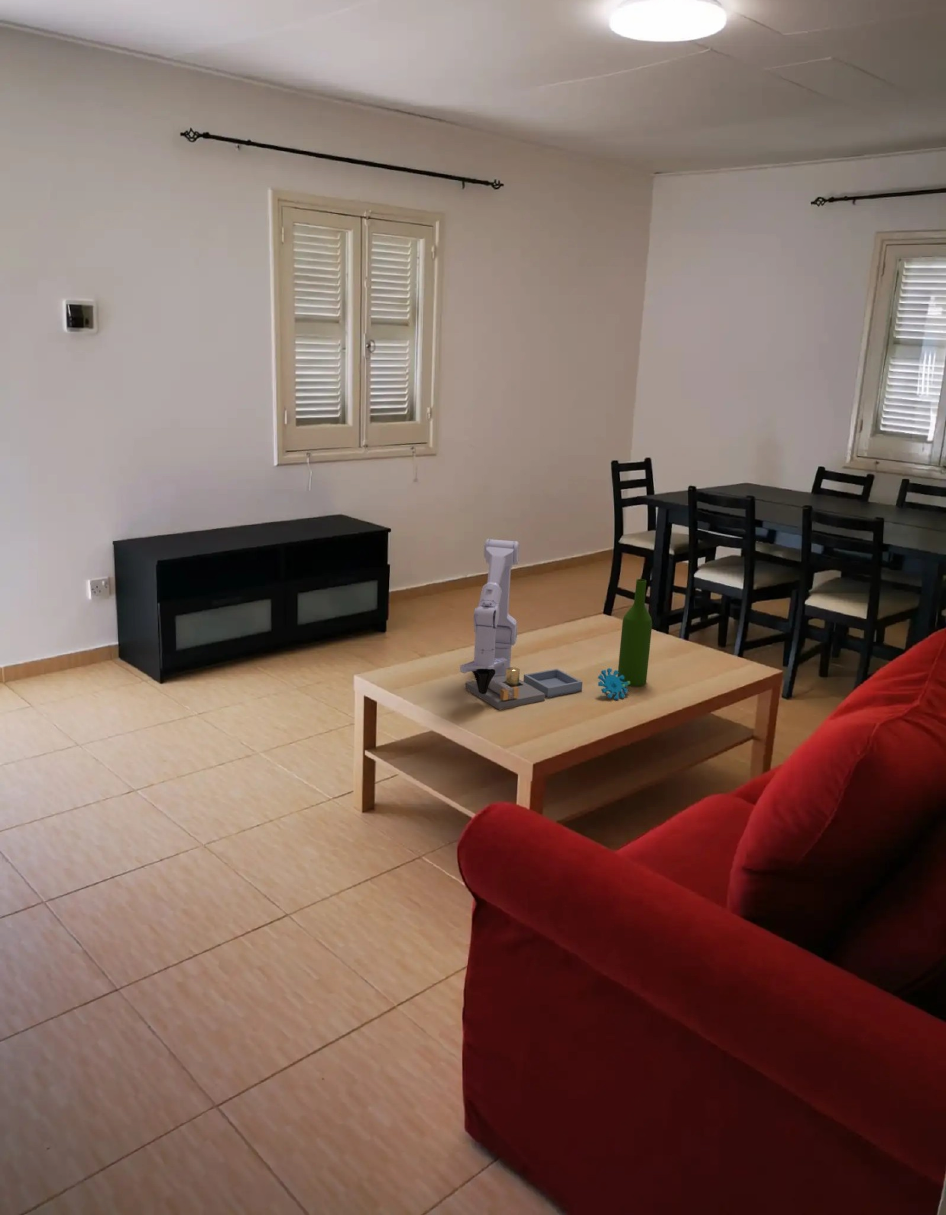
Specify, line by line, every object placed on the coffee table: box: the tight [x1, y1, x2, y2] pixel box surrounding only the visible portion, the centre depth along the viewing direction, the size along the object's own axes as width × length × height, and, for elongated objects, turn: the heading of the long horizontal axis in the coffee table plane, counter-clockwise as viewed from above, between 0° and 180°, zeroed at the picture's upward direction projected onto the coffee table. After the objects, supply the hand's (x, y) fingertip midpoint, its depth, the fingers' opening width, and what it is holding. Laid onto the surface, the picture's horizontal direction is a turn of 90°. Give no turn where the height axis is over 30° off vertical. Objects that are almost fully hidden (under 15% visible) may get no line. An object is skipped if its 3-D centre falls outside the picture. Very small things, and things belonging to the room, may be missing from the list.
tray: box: [522, 668, 583, 699], centre depth 284 cm, size 13×13×3 cm
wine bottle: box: [616, 578, 653, 688], centre depth 288 cm, size 9×9×32 cm
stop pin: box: [506, 666, 521, 687], centre depth 280 cm, size 4×4×6 cm
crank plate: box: [465, 675, 546, 710], centre depth 277 cm, size 18×16×2 cm
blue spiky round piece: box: [597, 667, 630, 701], centre depth 280 cm, size 11×6×10 cm
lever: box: [488, 676, 519, 700], centre depth 273 cm, size 16×5×4 cm, turn 32°
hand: (482, 692), depth 269 cm, fingers closed
